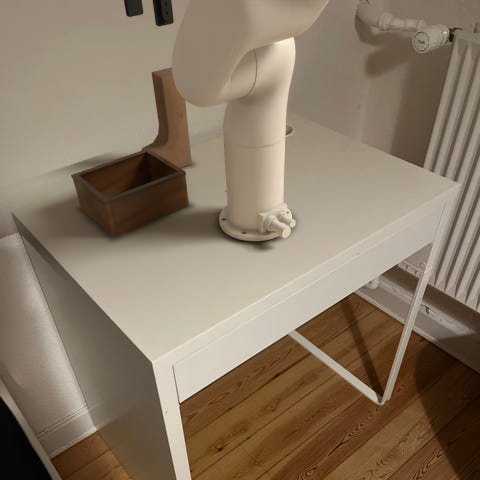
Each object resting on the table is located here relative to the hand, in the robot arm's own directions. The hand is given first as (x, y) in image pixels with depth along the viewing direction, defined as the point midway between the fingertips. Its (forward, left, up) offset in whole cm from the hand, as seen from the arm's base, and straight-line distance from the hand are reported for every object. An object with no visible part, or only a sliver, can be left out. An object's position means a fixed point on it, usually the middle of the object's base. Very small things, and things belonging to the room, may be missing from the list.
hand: (149, 19), depth 86 cm
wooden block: (0, 0, -27) cm, 27 cm away
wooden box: (-9, +14, -27) cm, 31 cm away
